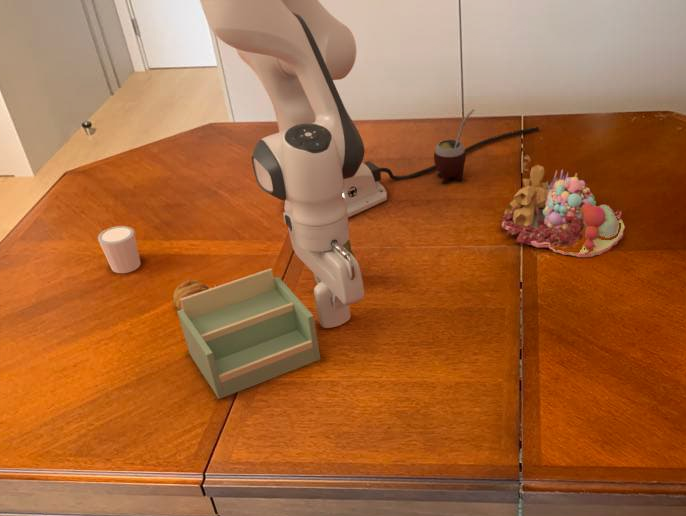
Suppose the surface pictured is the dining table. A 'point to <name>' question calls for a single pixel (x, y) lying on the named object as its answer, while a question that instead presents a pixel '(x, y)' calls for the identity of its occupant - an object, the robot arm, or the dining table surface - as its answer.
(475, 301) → the dining table surface
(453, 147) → the mate gourd
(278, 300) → the spice rack
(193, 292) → the pastry
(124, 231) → the white short cylinder
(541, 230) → the pastel sphere sculpture
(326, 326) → the eye dropper bottle
